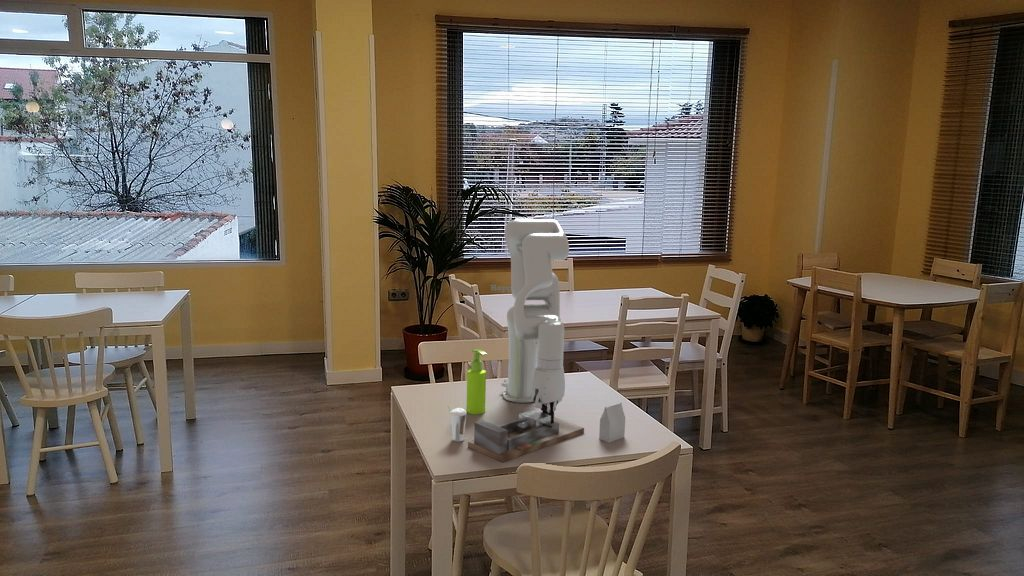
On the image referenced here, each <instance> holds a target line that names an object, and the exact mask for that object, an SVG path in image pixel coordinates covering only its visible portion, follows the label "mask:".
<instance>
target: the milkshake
mask: <svg viewBox="0 0 1024 576" xmlns="http://www.w3.org/2000/svg"><path fill="white" fill-rule="evenodd" d="M447 408H448V410H449V412H450V413H449V414H450V422H451V438H452V441H453V442H456V443H457V442H459V443H461V442H464V440H465V435H466V434H465V433H466V432H465V431H466V421H467V414H468V412H467V410H466V409H464V408H462V407H456V408H453V409H452V410H451V409H450V407H449V406H447Z"/></svg>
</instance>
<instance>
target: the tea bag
mask: <svg viewBox="0 0 1024 576" xmlns="http://www.w3.org/2000/svg"><path fill="white" fill-rule="evenodd" d="M625 430H626V415H625V412H624V408H623V405H622V402H618V403H614V404H611V405H607V406H604V409H603V413H602V414H601V417H600V419H599V431H598V432H599V434H598V439H599V440H601V441H603V442H607V443H608V444H609V443H612V442H614V441H618V440H620V439H623V438H625V432H626V431H625Z"/></svg>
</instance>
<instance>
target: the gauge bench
mask: <svg viewBox="0 0 1024 576" xmlns="http://www.w3.org/2000/svg"><path fill="white" fill-rule="evenodd" d="M518 423H519V418H517V419H514V420H511V421H507V422H504V423H500V424H498V425H497V424H493V423H491V422H488V421H486V420H484V419H482V420H478V421H475V422H474V428H473V429H474V430H473V431H474V433H473V435H474V436H473V439H472V440H469V441H467V447H468V448H470V449H472V450H474V451H477V452H479V453H481V454H483V455H486V456H488V457H490V458H492V459H495V460H497V461H499V462H501V463H504V462H508V461H510V460H512V459H516V458H518V457H522V456H523V455H526V454H530V453H532V452H535V451H537V450H540V449H544V448H546V447H549V446H551V445H554V444H557V443H559V442H562V441H565V440H568V439H571V438H573V437H576V436H579V435H582V434H584V433H585V427H583V426H580V425H578V424H574V423H572V422H569V421H567V420H564V419H560V418H558V417H555V416H554V423H552V424H549V425H551V426H552V428H549V427H547V426H543V427H540V428H537V429H534V430H531V431H528V432H525V433H523V432H519V431H518V430H517V424H518Z"/></svg>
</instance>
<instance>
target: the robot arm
mask: <svg viewBox="0 0 1024 576" xmlns="http://www.w3.org/2000/svg"><path fill="white" fill-rule="evenodd" d="M504 236H505V237H504V238H505V243H506V247H507V249H508V253H509V256H510V288H511V289H510V290H511V296H512V297H513V298H514V305H513V306H510V307H509V309H508V310H507V312H506V313H507V314H506V323H507V332H508V333H507V334H508V369H507V370H508V371H507V378H506V379H504V381H503V382H501V386H502V387H505V391H503V393H502V397H503V399H504V400H507V401H508V402H513V403H518V404H519V403H521V404H522V403H523V404H525V403H527V404H528V403H533V402H534V408H536V409H540V412H542V413H545V414H548V415H550V416H551V424H552V423H554V417H555V411H556V410H557V406H558V404H559V403H561V402H562V401H563V398H564V396H565V390H566V383H565V382H566V380H565V378H566V377H565V369H564V349H565V348H564V343H565V342H564V341H565V325H564V322H563V320H562V319H561V317H560V315H561V314H560V313H561V311H560V310H561V309H560V306H561V305H560V299H561V298H560V297H561V293H560V292H561V291H560V281H559V278H558V276H557V274H555V273H554V272H553V266H552V264H553V263H552V261H565V260H566V259H567V258H568V256H569V255H570V253H569V252H570V244H569V240H568V237H567V234H566V233H565V230H564V229H563V228H562V226H561V224H560V222H559V221H558V220H556V219H552V218H550V219H549V218H548V219H547V218H544V219H543V218H542V219H541V218H538V219H537V218H520V219H519V218H518V219H512V220H510V221H508V222H507V223H506V225H505V230H504ZM526 301H543V302H544V304H541V303H539V304H529V303H528V304H525V302H526ZM536 341H537V343H536Z"/></svg>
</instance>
